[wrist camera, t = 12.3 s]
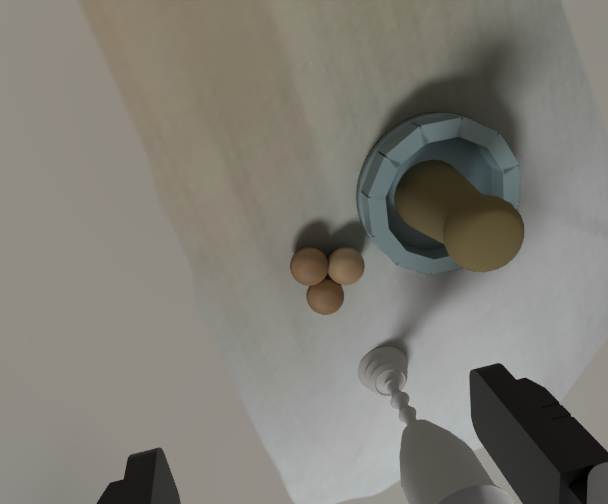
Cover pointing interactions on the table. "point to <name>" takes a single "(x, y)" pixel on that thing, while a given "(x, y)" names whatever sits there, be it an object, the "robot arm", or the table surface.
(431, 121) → the dish
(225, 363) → the table surface
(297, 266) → the bead pile
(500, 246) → the cork
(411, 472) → the chalice
